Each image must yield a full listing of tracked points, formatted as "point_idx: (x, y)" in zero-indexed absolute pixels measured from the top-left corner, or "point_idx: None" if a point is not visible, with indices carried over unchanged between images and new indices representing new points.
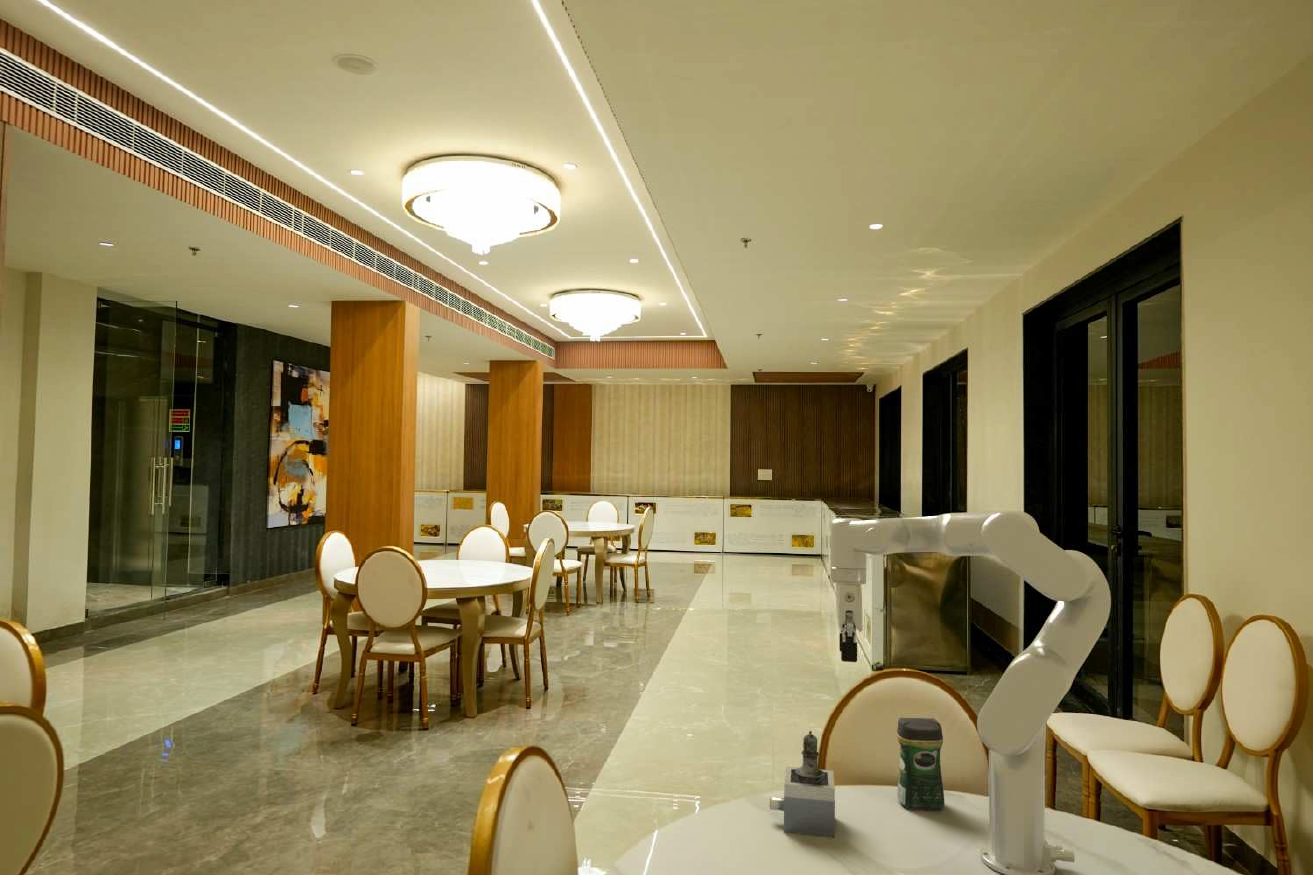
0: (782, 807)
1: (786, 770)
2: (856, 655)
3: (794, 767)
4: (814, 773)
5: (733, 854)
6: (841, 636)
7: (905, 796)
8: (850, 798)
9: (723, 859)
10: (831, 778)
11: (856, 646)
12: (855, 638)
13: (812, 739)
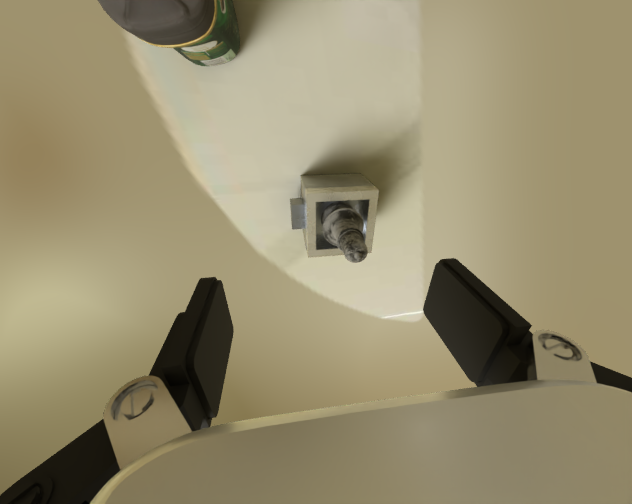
0: None
1: (323, 255)
2: (470, 276)
3: (308, 246)
4: (357, 222)
5: (405, 262)
6: (217, 398)
7: (234, 52)
8: (228, 150)
9: (414, 268)
10: (340, 195)
11: (507, 310)
12: (584, 360)
13: (366, 249)
